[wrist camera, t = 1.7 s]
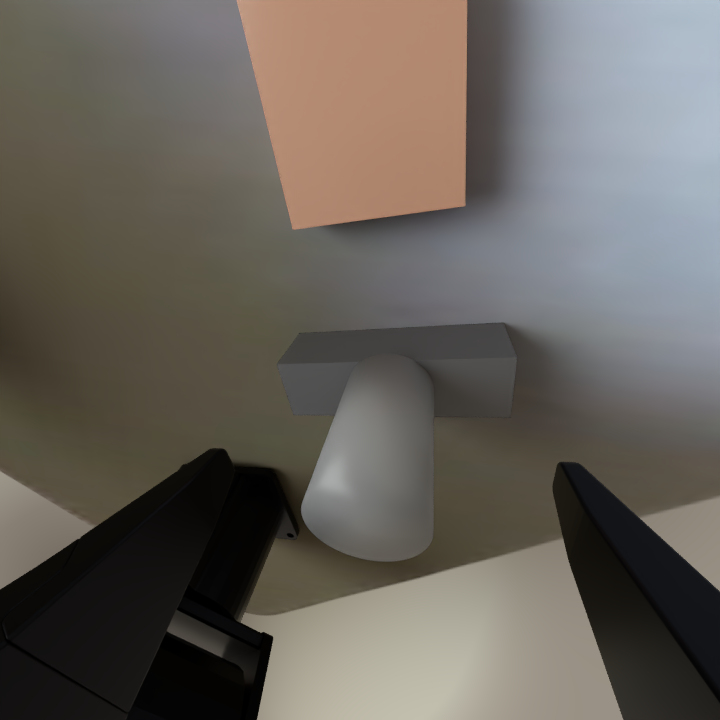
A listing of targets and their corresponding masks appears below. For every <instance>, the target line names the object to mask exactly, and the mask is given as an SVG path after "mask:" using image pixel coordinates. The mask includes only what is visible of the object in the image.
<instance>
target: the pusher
mask: <svg viewBox="0 0 720 720" xmlns="http://www.w3.org/2000/svg"><path fill="white" fill-rule="evenodd" d="M516 364H517V356H516V353H515V351H514V348H513V346H512V343H511V341H510V338H509V336H508V333H507V331H506V328H505V325H504V323H485V324H466V325H446V326H427V327H408V328H389V329H370V330H351V331H332V332H313V333H299V335H298V336H297V337H296V339H295V340H294V342H293V343H292V344H291V346H290V347H289V348H288V350H287V351H286V352H285V354H284V355H283V356H282V358H281V359H280V361H279V362H278V363H277V367H278V370H279V373H280V376H281V379H282V382H283V385H284V388H285V391H286V394H287V397H288V400H289V403H290V406H291V409H292V412H293V415H334V416H335V417H334V419H333V422H332V425H331V427H330V430H329V433H328V435H327V438H326V441H325V443H324V446H323V449H322V451H321V454H320V457H319V459H318V462H317V465H316V467H315V470H314V473H313V475H312V478H311V481H310V483H309V486H308V489H307V491H306V494H305V497H304V499H303V502H302V505H301V514H302V518H303V520H304V522H305V524H306V526H307V527H308V529H309V530H310V531H311V532H312V533H313V534H314V535H315V536H316V537H317V538H318V539H319V540H321V541H322V542H323V543H325V544H327V545H328V546H330V547H332V548H334V549H335V550H337V551H340V552H342V553H344V554H347V555H350V556H353V557H357V558H360V559H365V560H371V561H381V562H392V561H401V560H406V559H410V558H412V557H415V556H417V555H419V554H421V553H422V552H424V551H425V550H426V549H427V548H428V547H429V545H430V544H431V542H432V539H433V532H434V417H502V418H511V410H512V401H513V391H514V382H515V373H516Z"/></svg>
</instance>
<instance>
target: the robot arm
mask: <svg viewBox="0 0 720 720" xmlns="http://www.w3.org/2000/svg"><path fill="white" fill-rule="evenodd" d="M553 495H554V499H555V504H556V508H557V513H558V517H559V521H560V526H561V530H562V535H563V539H564V543H565V547H566V552H567V556H568V560H569V563H570V566H571V569H572V572H573V575H574V578H575V581H576V584H577V587H578V590H579V593H580V595H581V599H582V601H583V604H584V607H585V610H586V613H587V616H588V619H589V622H590V625H591V627H592V630H593V633H594V636H595V639H596V642H597V645H598V647H599V650H600V653H601V656H602V659H603V662H604V665H605V668H606V671H607V674H608V677H609V679H610V682H611V685H612V688H613V691H614V694H615V696H616V700H617V703H618V705H619V708H620V711H621V714H622V717H623V719H624V720H720V591H719V590H718V589H716V588H715V587H714V586H713V585H712V584H711V583H710V582H709V581H708V580H707V579H706V578H704V577H703V576H702V575H701V574H700V573H699V572H698V571H697V570H696V569H695V568H693V567H692V566H691V565H690V564H689V563H688V562H687V561H686V560H685V559H683V557H681V556H680V555H679V554H678V553H677V552H676V551H675V550H674V549H673V548H672V547H670V546H669V545H668V544H667V543H666V542H665V541H664V540H663V539H662V538H661V537H660V536H658V535H657V534H656V533H655V532H654V531H653V530H652V529H651V528H650V527H649V526H647V525H646V524H645V523H644V522H643V521H642V520H641V519H640V518H639V517H638V516H637V515H635V514H634V513H633V512H632V511H631V510H630V509H629V508H628V507H627V506H626V505H625V504H623V503H622V502H621V501H620V500H619V499H618V498H617V497H616V496H615V495H614V494H612V493H611V492H610V491H609V490H608V489H607V488H606V487H605V486H604V485H603V484H602V483H600V482H599V481H598V480H597V479H596V478H595V477H594V476H593V475H592V474H591V473H589V472H588V471H587V470H586V469H585V468H584V467H583V466H582V465H580V464H579V463H576V462H559V463H558V465H557V468H556V472H555V477H554V481H553ZM298 535H299V528H298V526H297V524H296V521H295V519H294V517H293V514H292V512H291V509H290V507H289V505H288V502H287V500H286V498H285V495H284V493H283V490H282V488H281V486H280V483H279V481H278V478H277V476H276V474H275V473H274V472H273V471H271V470H269V469H260V468H242V467H234V465H233V463H232V461H231V459H230V457H229V455H228V453H227V452H226V450H225V449H221V448H212V449H209V450H208V451H206V452H205V453H203V454H202V455H200V456H199V457H197V458H196V459H194V460H193V461H191V462H190V463H188V464H184V465H182V466H181V467H180V469H179V470H178V471H177V472H175V473H174V474H172V475H171V476H169V477H168V478H167V479H165V480H164V481H162V482H161V483H159V484H158V485H156V486H155V487H153V488H152V489H150V490H149V491H147V492H146V493H145V494H143V495H142V496H140V497H139V498H137V499H136V500H134V501H133V502H131V503H130V504H128V505H127V506H125V507H124V508H123V509H121V510H120V511H118V512H117V513H115V514H114V515H112V516H111V517H109V518H108V519H106V520H105V521H104V522H102V523H101V524H99V525H98V526H96V527H95V528H93V529H92V530H90V531H89V532H87V533H86V534H85V535H83V536H82V537H81V538H80V539H77V540H76V541H74V542H73V543H71V544H70V545H69V546H67V547H66V548H64V549H63V550H61V551H60V552H58V553H56V554H55V555H53V556H52V557H50V558H49V559H47V560H46V561H44V562H43V563H41V564H40V565H38V566H37V567H36V568H34V569H32V570H31V571H29V572H27V573H26V574H24V575H23V576H21V577H20V578H18V579H16V580H15V581H13V582H12V583H10V584H8V585H7V586H5V587H4V588H2V589H0V720H257V716H258V711H259V706H260V701H261V696H262V692H263V686H264V682H265V677H266V672H267V667H268V662H269V657H270V652H271V647H272V642H273V636H271V635H269V634H267V633H265V632H262V633H260V632H258V631H256V630H254V629H252V628H250V627H248V626H246V625H244V624H242V623H240V622H241V620H242V617H243V615H244V613H245V610H246V608H247V605H248V603H249V600H250V598H251V595H252V593H253V591H254V588H255V586H256V583H257V581H258V578H259V576H260V574H261V571H262V569H263V566H264V564H265V561H266V559H267V557H268V554H269V552H270V549H271V547H272V544H273V542H274V540H275V538H281V539H290V540H295V539H297V537H298Z"/></svg>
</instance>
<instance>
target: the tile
mask: <svg viewBox="0 0 720 720" xmlns="http://www.w3.org/2000/svg"><path fill="white" fill-rule="evenodd" d="M237 3H238V7H239V11H240V15H241V20H242V24H243V28H244V32H245V36H246V40H247V44H248V48H249V52H250V56H251V60H252V65H253V69H254V73H255V77H256V81H257V85H258V89H259V93H260V97H261V101H262V105H263V110H264V114H265V118H266V122H267V126H268V130H269V134H270V138H271V142H272V146H273V150H274V155H275V159H276V163H277V167H278V171H279V175H280V179H281V183H282V187H283V191H284V195H285V200H286V204H287V208H288V212H289V216H290V220H291V224H292V228H293V230H295V229H302V228H309V227H316V226H324V225H331V224H338V223H346V222H353V221H360V220H368V219H375V218H382V217H389V216H397V215H404V214H411V213H419V212H426V211H433V210H440V209H448V208H455V207H462V206H465V183H466V80H467V0H237Z"/></svg>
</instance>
